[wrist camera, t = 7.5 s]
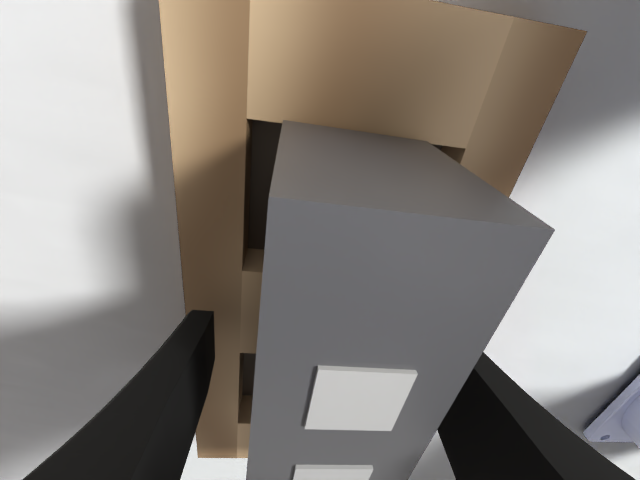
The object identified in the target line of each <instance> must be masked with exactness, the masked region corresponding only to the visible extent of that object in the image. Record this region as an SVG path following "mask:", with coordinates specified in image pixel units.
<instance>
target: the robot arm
mask: <svg viewBox="0 0 640 480" xmlns="http://www.w3.org/2000/svg"><path fill="white" fill-rule="evenodd" d="M214 361H215V335H214V311H205V310H191V311H190V312H189V313H188V314H187V315H186V317H185V318H184V319H183V321H182V322H181V323H180V324H179V326H178V327H177V328H176V329H175V331H174V332H173V333H172V334H171V336H170V337H169V338H168V339H167V340H166V342H165V343H164V344H163V345H162V346H161V347H160V349H159V350H158V351H157V352H156V353H155V354H154V355H153V356H152V358H151V359H150V360H149V361H148V362H147V363H146V364H145V365H144V367H143V368H142V369H141V370H140V371H139V372H138V373H137V374H136V375H135V376H134V377H133V378H132V379H131V380H130V381H129V382H128V384H127V385H126V386H125V387H124V388H123V389H122V390H121V391H120V392H119V393H118V394H117V395H116V396H115V397H114V398H113V399H112V400H111V401H110V402H109V403H108V404H107V405H106V406H105V407H104V408H103V409H102V410H101V411H100V412H99V413H98V414H96V415H95V416H94V417H93V418H92V419H91V420H90V421H89V422H88V423H87V424H86V425H85V426H84V427H83V428H81V429H80V430H79V431H78V432H77V433H76V434H75V435H74V436H73V437H72V438H70V439H69V440H68V441H67V442H66V443H65V444H64V445H63V446H61V447H60V448H59V449H58V450H57V451H56V452H54V453H53V454H52V455H51V456H50V457H49V458H47V459H46V460H45V461H44V462H43V463H41V464H40V465H39V466H38V467H37V468H36V469H34V470H33V471H32V472H31V473H30V474H29V475H27V476H26V477H25V478H24V479H23V480H180V478H181V475H182V472H183V469H184V466H185V463H186V459H187V456H188V453H189V450H190V447H191V444H192V441H193V438H194V435H195V432H196V428H197V425H198V422H199V419H200V416H201V413H202V410H203V407H204V403H205V400H206V397H207V394H208V390H209V385H210V381H211V376H212V371H213V366H214ZM437 430H438V433H439V435H440V438H441V441H442V443H443V446H444V449H445V451H446V454H447V457H448V459H449V462H450V464H451V467H452V470H453V472H454V475H455V478H456V480H635V479H634V478H633V477H631V476H630V475H628V474H627V473H626V472H624V471H623V470H621V469H620V468H619V467H617V466H616V465H615V464H613V463H612V462H610V461H609V460H608V459H606V458H605V457H604V456H602V455H601V454H600V453H598V452H597V451H596V450H595V449H593V448H592V447H591V446H590V445H588V444H587V443H586V442H584V441H583V440H582V439H581V438H579V437H578V436H577V435H575V434H574V433H573V432H572V431H570V430H569V429H568V428H567V427H566V426H564V425H563V424H562V423H561V422H559V421H558V420H557V419H556V418H555V417H554V416H552V415H551V414H550V413H549V412H548V411H547V410H545V409H544V408H543V407H542V406H541V405H540V404H539V403H537V402H536V401H535V400H534V399H533V398H532V397H531V396H529V395H528V394H527V393H526V392H525V391H524V390H523V389H522V388H521V387H519V386H518V385H517V384H516V383H515V382H514V381H513V380H512V379H511V378H510V377H509V376H508V375H507V374H506V373H504V372H503V371H502V370H501V369H500V368H499V367H498V366H497V365H496V364H495V363H494V362H493V361H492V360H491V359H490V358H489V357H488V356H487V355H486V354H485V353H484V352H483V353H482V354H481V356H480V358H479V359H478V361H477V363H476V365H475V366H474V368H473V370H472V371H471V373H470V375H469V376H468V378H467V380H466V381H465V383H464V385H463V387H462V388H461V390H460V392H459V393H458V395H457V397H456V398H455V400H454V402H453V404H452V405H451V407H450V409H449V410H448V412H447V414H446V415H445V417H444V419H443V420H442V422H441V424H440V426H439V427H438V429H437ZM584 436H585V437H586V438H587V440H589V441H591V442H634V443H635V444H636V445H637V446H638V447H639V448H640V374H639V375H638V376H637V377H636V378H635V379H634V380H633V381H632V383H631V384H630V385H629V386H628V387H627V388H626V389H625V390H624V391H623V392H622V393H621V394H620V395H619V396H618V397H617V398H616V399H615V400H614V401H613V402H612V403H611V404H610V405H609V406H608V407H607V408H606V409H605V410H604V411H603V412H602V413H601V414H600V415H599V416H598V417H597V418H596V419H595V420H594V421H593V422H592V423H591V424H590V425H589V426H588V427H587V428H586V429H585V431H584Z"/></svg>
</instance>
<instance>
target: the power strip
mask: <svg viewBox="0 0 640 480" xmlns="http://www.w3.org/2000/svg"><path fill="white" fill-rule="evenodd" d="M554 231H555V229H553V228H552V227H550V226H549V225H547V224H546V223H544V222H543V221H542V220H540V219H539V218H537V217H536V216H534V215H533V214H531V213H530V212H529V211H527V210H526V209H524V208H523V207H521V206H520V205H518V204H517V203H516V202H514V201H513V200H511V199H510V198H508V197H507V196H505V195H504V194H503V193H501V192H500V191H498V190H497V189H495V188H494V187H492V186H491V185H489V184H488V183H487V182H485V181H484V180H482V179H481V178H479V177H478V176H476V175H475V174H474V173H472V172H471V171H469V170H468V169H466V168H465V167H463V166H462V165H461V164H459V163H458V162H456V161H455V160H453V159H452V158H450V157H449V156H448V155H446V154H445V153H443V152H442V151H440V150H439V149H437V148H436V147H435V146H433V145H432V144H430V143H429V142H427V141H422V140H416V139H409V138H402V137H395V136H389V135H382V134H375V133H368V132H362V131H355V130H348V129H342V128H335V127H328V126H321V125H315V124H308V123H301V122H294V121H288V120H283V122H282V128H281V133H280V139H279V144H278V149H277V155H276V160H275V165H274V171H273V176H272V181H271V187H270V192H269V199H268V212H267V224H266V237H265V249H264V262H263V274H262V287H261V299H260V312H259V325H258V337H257V350H256V362H255V375H254V387H253V400H252V413H251V425H250V438H249V450H248V463H247V475H246V480H408V478H409V476H410V475H411V473H412V471H413V470H414V468H415V466H416V465H417V463H418V461H419V459H420V458H421V456H422V454H423V453H424V451H425V449H426V448H427V446H428V444H429V442H430V441H431V439H432V437H433V436H434V434H435V432H436V431H437V429H438V427H439V426H440V424H441V422H442V420H443V419H444V417H445V415H446V414H447V412H448V410H449V409H450V407H451V405H452V404H453V402H454V400H455V398H456V397H457V395H458V393H459V392H460V390H461V388H462V387H463V385H464V383H465V381H466V380H467V378H468V376H469V375H470V373H471V371H472V370H473V368H474V366H475V365H476V363H477V361H478V359H479V358H480V356H481V354H482V353H483V351H484V349H485V348H486V346H487V344H488V342H489V341H490V339H491V337H492V336H493V334H494V332H495V331H496V329H497V327H498V326H499V324H500V322H501V320H502V319H503V317H504V315H505V314H506V312H507V310H508V309H509V307H510V305H511V304H512V302H513V300H514V298H515V297H516V295H517V293H518V292H519V290H520V288H521V287H522V285H523V283H524V281H525V280H526V278H527V276H528V275H529V273H530V271H531V270H532V268H533V266H534V265H535V263H536V261H537V259H538V258H539V256H540V254H541V253H542V251H543V249H544V248H545V246H546V244H547V242H548V241H549V239H550V237H551V236H552V234H553V232H554Z"/></svg>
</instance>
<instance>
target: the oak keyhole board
mask: <svg viewBox="0 0 640 480" xmlns="http://www.w3.org/2000/svg"><path fill="white" fill-rule="evenodd" d="M159 10H160V22H161V33H162V45H163V57H164V68H165V80H166V92H167V103H168V115H169V127H170V138H171V150H172V162H173V173H174V185H175V196H176V208H177V220H178V231H179V243H180V255H181V266H182V278H183V290H184V301H185V313H186V315H187V314H188V313H189V312H190V311H191V310H205V311H214V335H215V361H214V366H213V371H212V376H211V381H210V385H209V390H208V394H207V397H206V400H205V403H204V407H203V410H202V413H201V416H200V419H199V422H198V425H197V428H196V441H197V453H198V458H248V450H249V438H250V425H251V413H252V400H253V387H254V375H255V362H256V350H257V337H258V325H259V312H260V299H261V287H262V274H263V262H264V249H265V237H266V224H267V212H268V199H269V192H270V187H271V181H272V176H273V171H274V165H275V160H276V155H277V149H278V144H279V139H280V133H281V128H282V122H283V120H288V121H294V122H301V123H308V124H315V125H321V126H328V127H335V128H342V129H348V130H355V131H362V132H368V133H375V134H382V135H389V136H395V137H402V138H409V139H416V140H422V141H427V142H429V143H430V144H432V145H433V146H435V147H436V148H437V149H439V150H440V151H442V152H443V153H445V154H446V155H448V156H449V157H450V158H452V159H453V160H455V161H456V162H458V163H459V164H461V165H462V166H463V167H465V168H466V169H468V170H469V171H471V172H472V173H474V174H475V175H476V176H478V177H479V178H481V179H482V180H484V181H485V182H487V183H488V184H489V185H491V186H492V187H494V188H495V189H497V190H498V191H500V192H501V193H503V194H504V195H505V196H507V197H508V198H509V196H510V194H511V192H512V190H513V188H514V186H515V184H516V181H517V179H518V177H519V175H520V173H521V171H522V169H523V167H524V164H525V162H526V160H527V158H528V156H529V154H530V152H531V150H532V148H533V145H534V143H535V141H536V139H537V137H538V135H539V133H540V131H541V128H542V126H543V124H544V122H545V120H546V118H547V116H548V114H549V111H550V109H551V107H552V105H553V103H554V101H555V99H556V97H557V95H558V92H559V90H560V88H561V86H562V84H563V82H564V80H565V78H566V75H567V73H568V71H569V69H570V67H571V65H572V63H573V61H574V59H575V56H576V54H577V52H578V50H579V48H580V46H581V44H582V42H583V39H584V37H585V35H586V33H587V31H583V30H578V29H573V28H568V27H563V26H558V25H553V24H548V23H543V22H538V21H533V20H528V19H523V18H518V17H513V16H508V15H503V14H498V13H493V12H488V11H483V10H478V9H473V8H468V7H463V6H458V5H453V4H448V3H443V2H438V1H432V0H159Z"/></svg>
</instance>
